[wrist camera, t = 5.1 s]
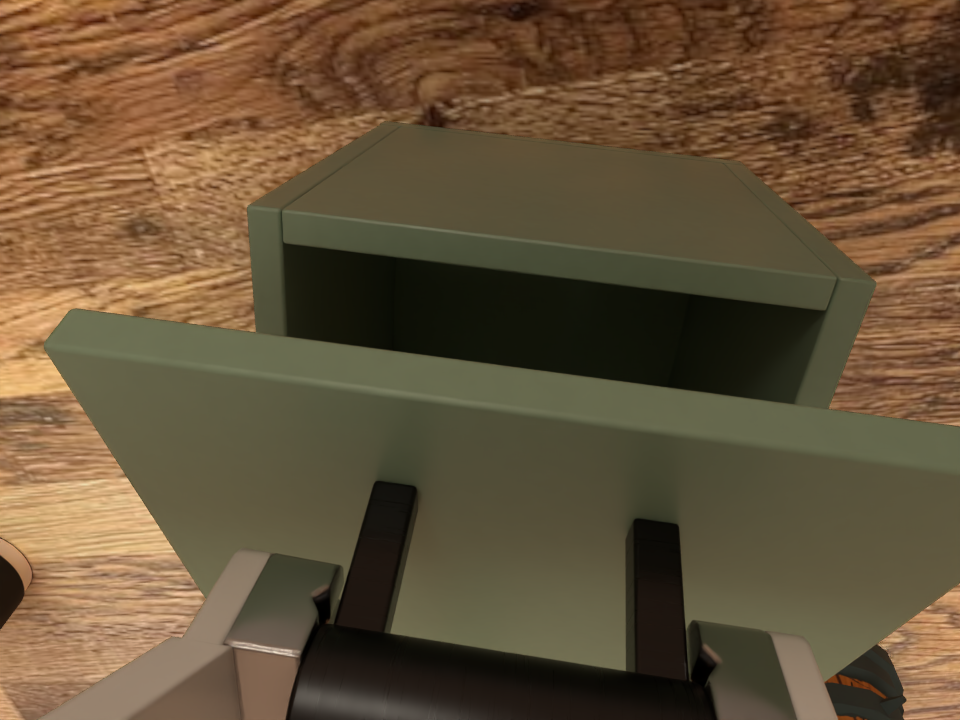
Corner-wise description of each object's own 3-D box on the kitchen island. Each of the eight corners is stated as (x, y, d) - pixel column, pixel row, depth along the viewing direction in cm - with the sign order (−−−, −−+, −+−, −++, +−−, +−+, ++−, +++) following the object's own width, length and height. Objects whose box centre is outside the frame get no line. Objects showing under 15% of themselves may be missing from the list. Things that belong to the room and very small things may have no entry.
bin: (384, 121, 26) (244, 205, 15) (740, 160, 25) (879, 282, 14) (377, 450, 33) (279, 675, 22) (653, 490, 33) (699, 744, 21)
